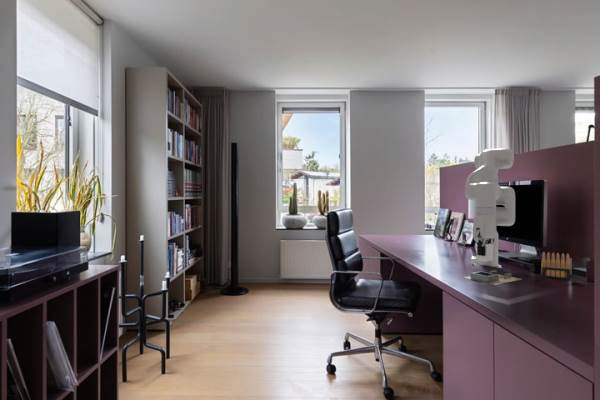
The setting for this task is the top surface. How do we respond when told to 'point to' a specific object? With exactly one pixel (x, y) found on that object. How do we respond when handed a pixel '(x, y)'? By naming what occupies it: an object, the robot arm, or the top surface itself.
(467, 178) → the robot arm
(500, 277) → the board
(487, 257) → the plug
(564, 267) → the ammunition clip
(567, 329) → the top surface
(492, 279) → the frame
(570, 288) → the top surface
